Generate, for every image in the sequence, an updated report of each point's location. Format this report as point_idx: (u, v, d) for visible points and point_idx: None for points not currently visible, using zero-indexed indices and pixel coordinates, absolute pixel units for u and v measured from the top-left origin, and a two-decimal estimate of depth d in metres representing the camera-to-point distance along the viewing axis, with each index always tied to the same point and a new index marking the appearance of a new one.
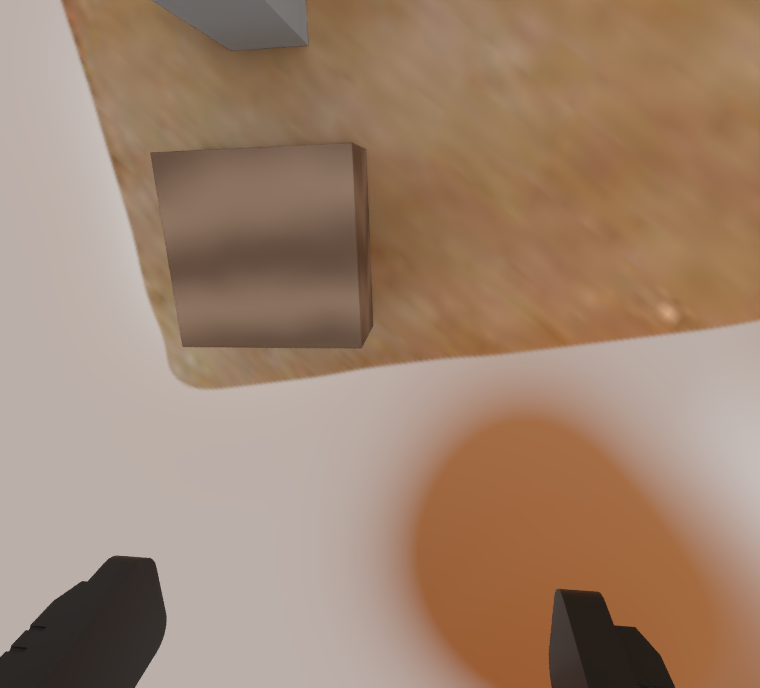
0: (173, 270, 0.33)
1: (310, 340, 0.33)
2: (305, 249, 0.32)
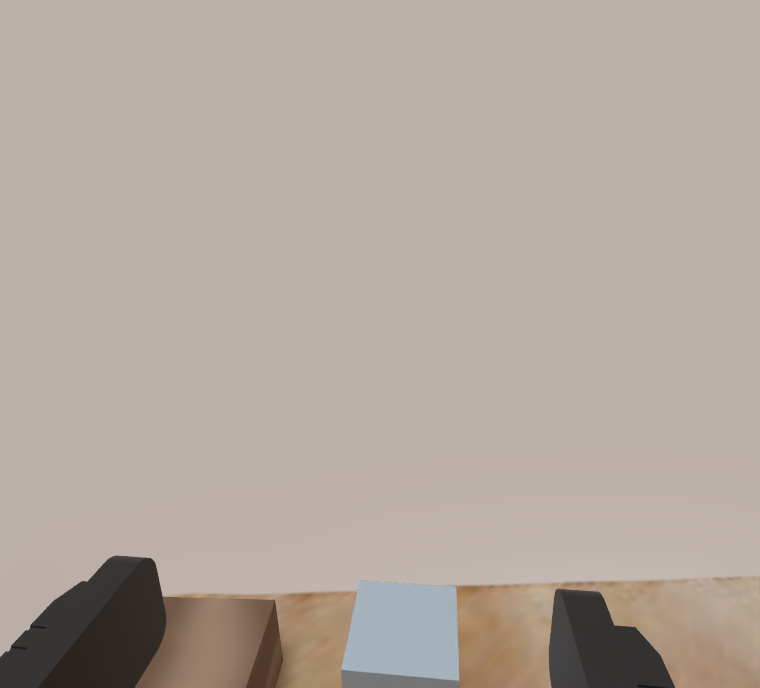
0: (172, 600, 0.35)
1: None
2: None
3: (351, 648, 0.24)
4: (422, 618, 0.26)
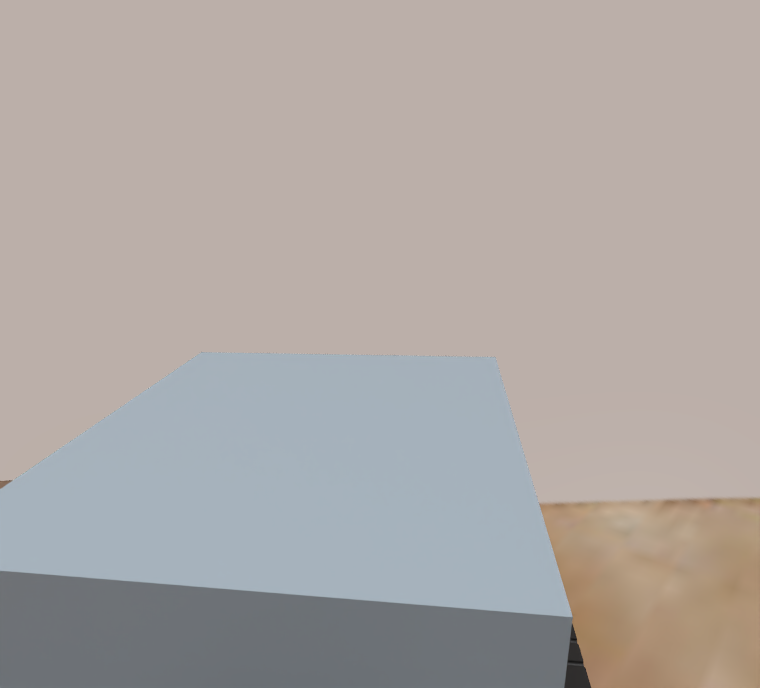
0: None
1: None
2: None
3: (32, 485, 0.05)
4: (377, 410, 0.07)
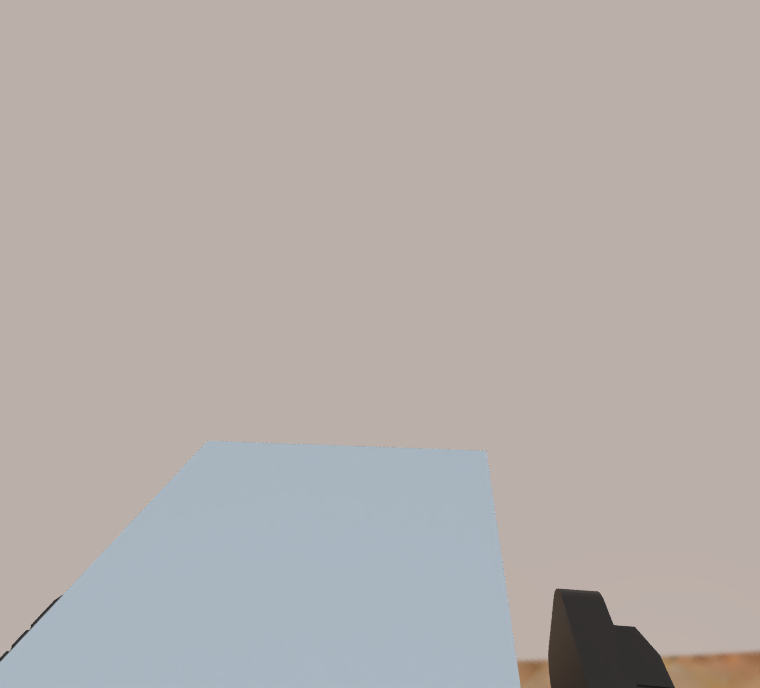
0: None
1: None
2: None
3: (56, 627, 0.06)
4: (373, 526, 0.07)
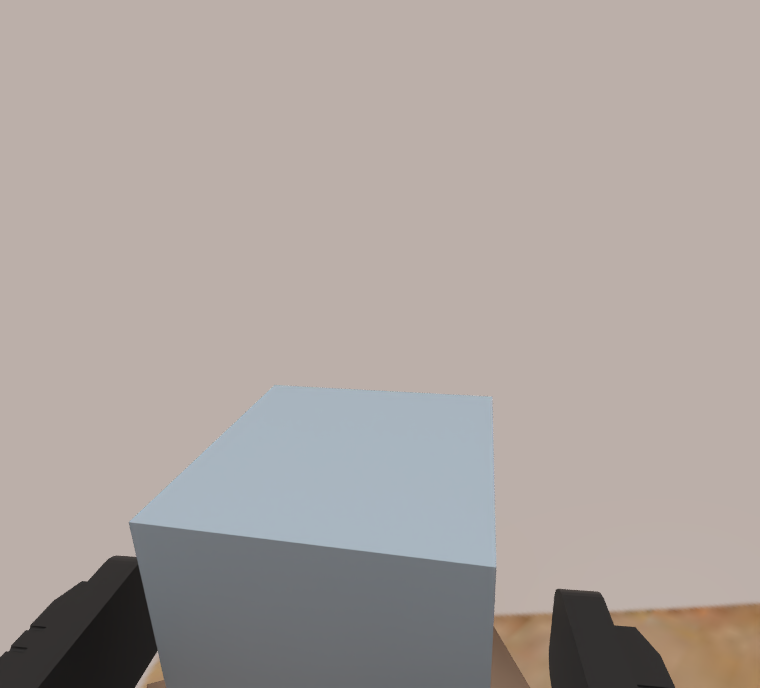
0: None
1: None
2: None
3: (188, 481, 0.08)
4: (401, 438, 0.10)
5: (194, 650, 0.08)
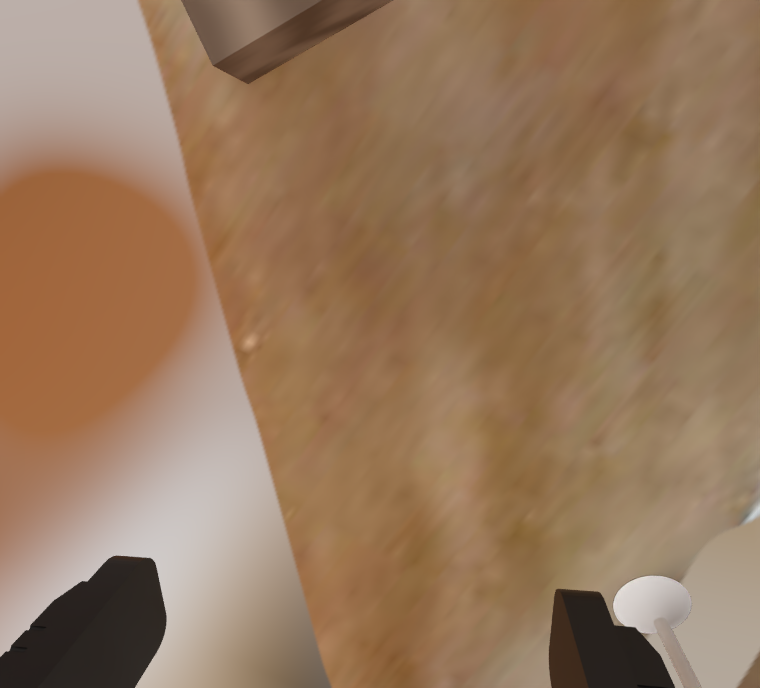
0: None
1: (191, 0, 0.29)
2: None
3: None
4: None
5: None
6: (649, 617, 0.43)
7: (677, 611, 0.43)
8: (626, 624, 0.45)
